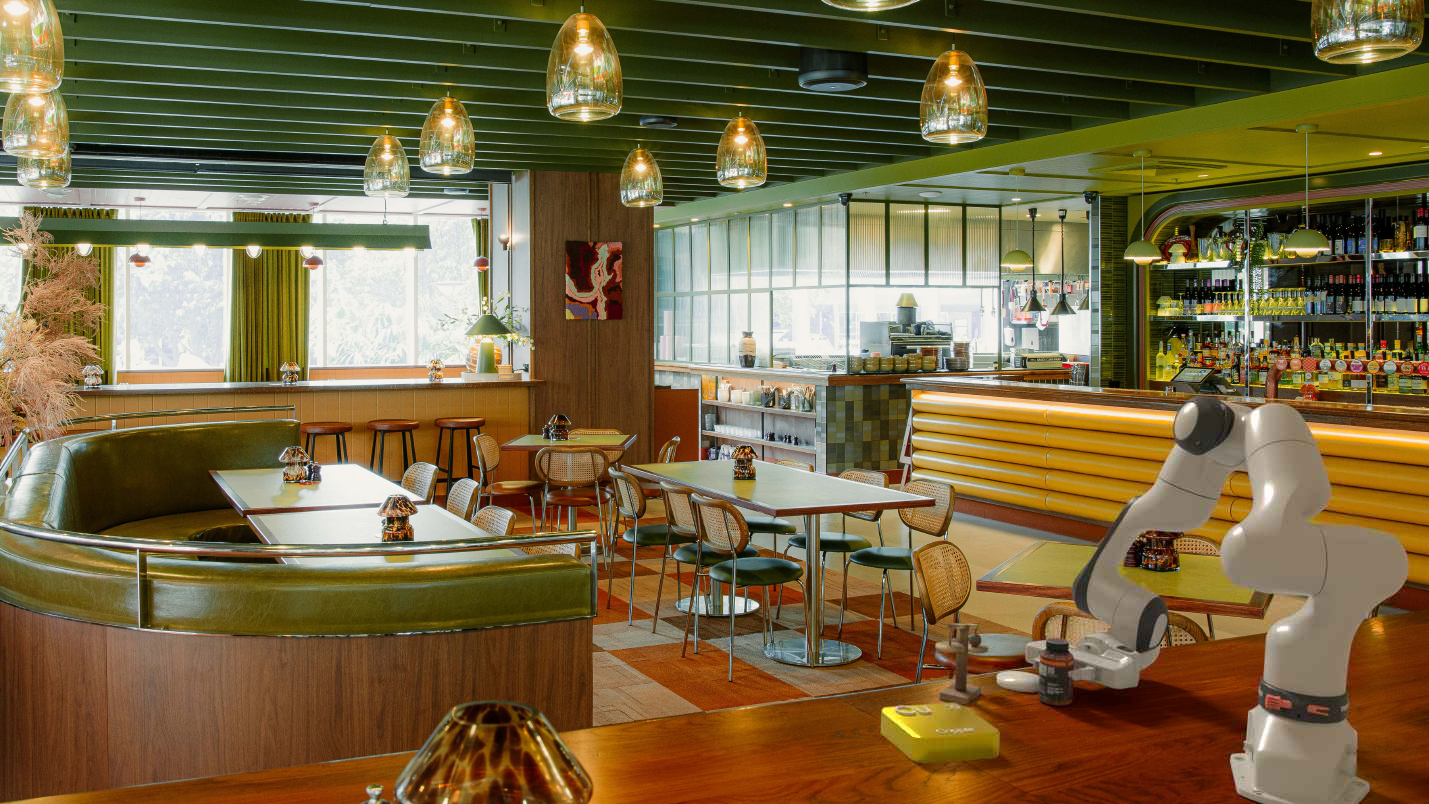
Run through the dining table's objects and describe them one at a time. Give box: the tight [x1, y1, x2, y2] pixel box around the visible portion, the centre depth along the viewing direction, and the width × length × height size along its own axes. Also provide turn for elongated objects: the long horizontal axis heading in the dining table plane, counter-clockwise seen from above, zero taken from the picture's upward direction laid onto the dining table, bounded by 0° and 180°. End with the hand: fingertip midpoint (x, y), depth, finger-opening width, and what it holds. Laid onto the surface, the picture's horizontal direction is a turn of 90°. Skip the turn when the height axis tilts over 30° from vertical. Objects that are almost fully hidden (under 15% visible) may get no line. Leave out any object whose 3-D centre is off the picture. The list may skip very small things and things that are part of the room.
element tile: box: [880, 702, 1001, 764], centre depth 176 cm, size 15×15×5 cm
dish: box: [996, 670, 1039, 693], centre depth 207 cm, size 9×9×1 cm
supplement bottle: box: [1037, 637, 1074, 707], centre depth 198 cm, size 6×6×11 cm
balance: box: [934, 623, 989, 706], centre depth 199 cm, size 19×5×15 cm, turn 148°
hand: (1053, 669), depth 197 cm, fingers closed on supplement bottle, 6 cm apart
